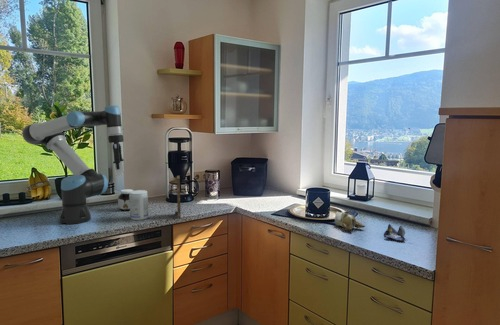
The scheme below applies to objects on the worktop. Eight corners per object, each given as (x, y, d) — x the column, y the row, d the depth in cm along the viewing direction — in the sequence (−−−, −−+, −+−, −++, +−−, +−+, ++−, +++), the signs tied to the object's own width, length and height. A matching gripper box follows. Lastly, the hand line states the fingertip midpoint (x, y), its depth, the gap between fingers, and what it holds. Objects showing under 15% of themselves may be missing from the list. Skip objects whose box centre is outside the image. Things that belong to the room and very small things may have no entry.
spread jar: (116, 210, 218) (115, 191, 216) (128, 206, 229) (127, 187, 227) (133, 212, 214) (133, 192, 213) (145, 207, 225) (144, 188, 224)
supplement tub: (144, 214, 208) (143, 189, 206) (151, 218, 201) (150, 191, 199) (127, 217, 202) (126, 191, 200) (134, 221, 195) (133, 194, 193)
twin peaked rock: (416, 239, 168) (393, 232, 178) (415, 226, 166) (393, 219, 176) (398, 249, 162) (376, 240, 172) (397, 235, 160) (375, 227, 171)
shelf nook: (171, 219, 200) (170, 178, 197) (171, 214, 209) (170, 175, 207) (180, 218, 201) (179, 178, 198) (180, 213, 210) (179, 175, 208)
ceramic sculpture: (344, 206, 192) (367, 214, 179) (343, 222, 193) (365, 231, 181) (329, 209, 186) (351, 218, 174) (328, 225, 188) (350, 235, 175)
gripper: (120, 134, 186) (125, 175, 188) (124, 134, 210) (128, 171, 212) (105, 135, 184) (110, 177, 186) (110, 135, 209) (115, 172, 210)
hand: (120, 174), depth 199 cm, fingers open, 13 cm apart
